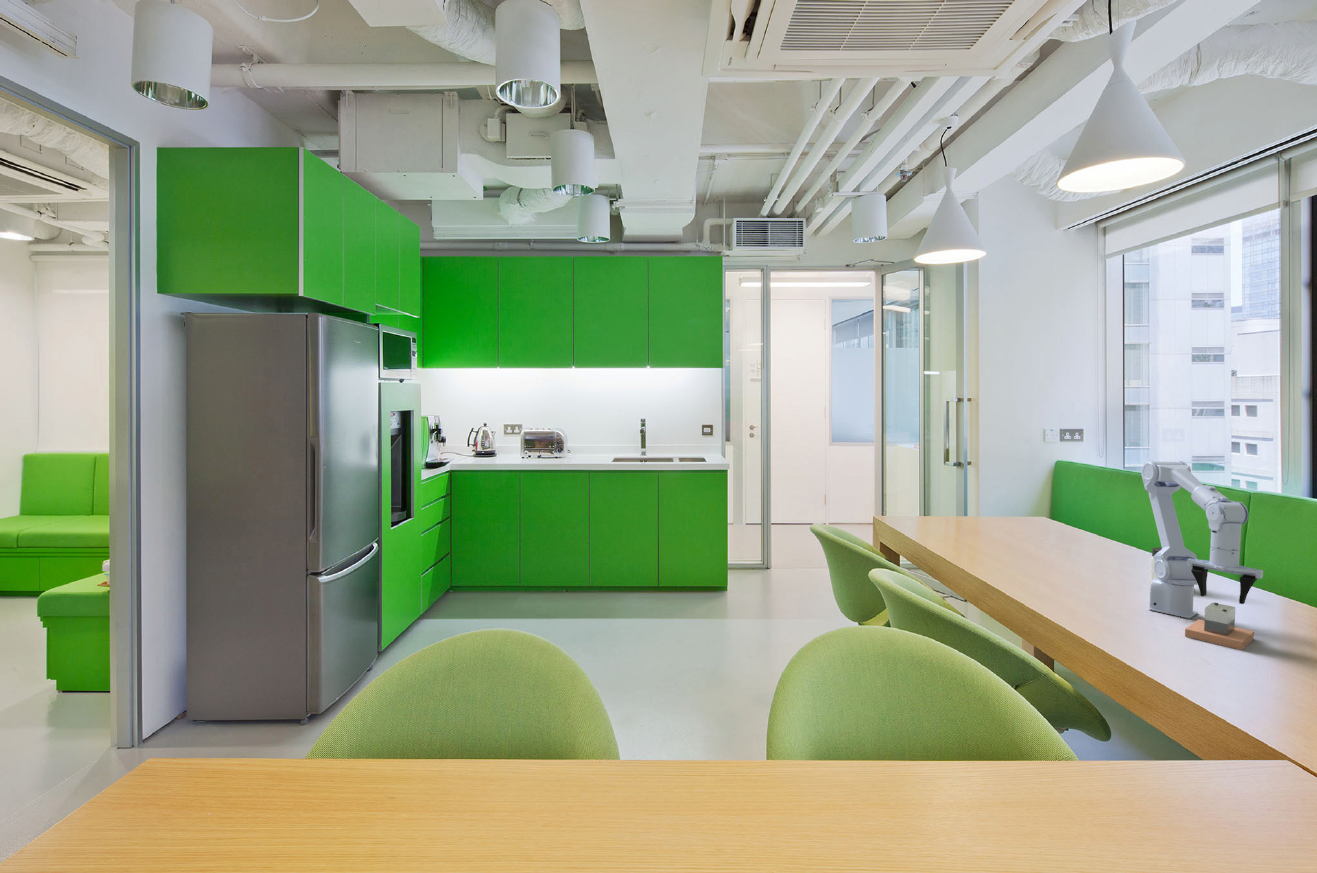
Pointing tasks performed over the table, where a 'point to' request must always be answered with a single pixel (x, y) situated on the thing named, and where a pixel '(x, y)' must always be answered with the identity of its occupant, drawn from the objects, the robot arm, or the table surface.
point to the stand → (1233, 640)
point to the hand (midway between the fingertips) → (1222, 599)
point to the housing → (1219, 619)
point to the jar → (1153, 575)
